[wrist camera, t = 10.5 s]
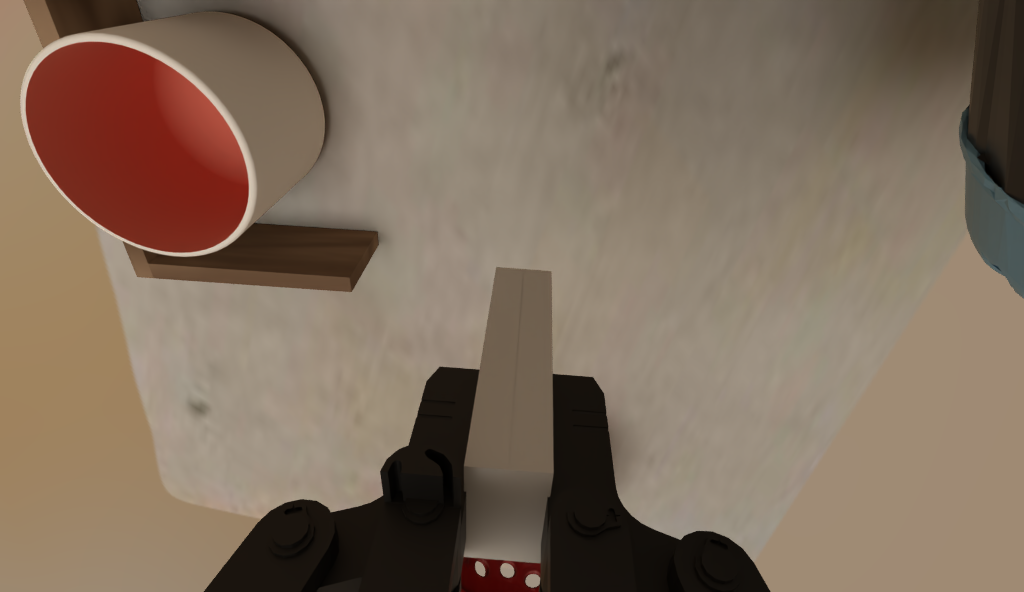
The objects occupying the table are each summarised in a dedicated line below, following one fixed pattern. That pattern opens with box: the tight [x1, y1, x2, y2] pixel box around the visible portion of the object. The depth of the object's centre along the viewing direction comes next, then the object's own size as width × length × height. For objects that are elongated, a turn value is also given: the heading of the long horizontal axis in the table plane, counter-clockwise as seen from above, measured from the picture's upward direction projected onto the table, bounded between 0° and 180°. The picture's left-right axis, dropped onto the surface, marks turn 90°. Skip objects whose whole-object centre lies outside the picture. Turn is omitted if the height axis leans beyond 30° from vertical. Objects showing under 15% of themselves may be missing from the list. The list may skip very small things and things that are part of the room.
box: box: [24, 0, 379, 292], centre depth 29 cm, size 18×13×6 cm
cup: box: [20, 11, 325, 257], centre depth 27 cm, size 10×10×10 cm
